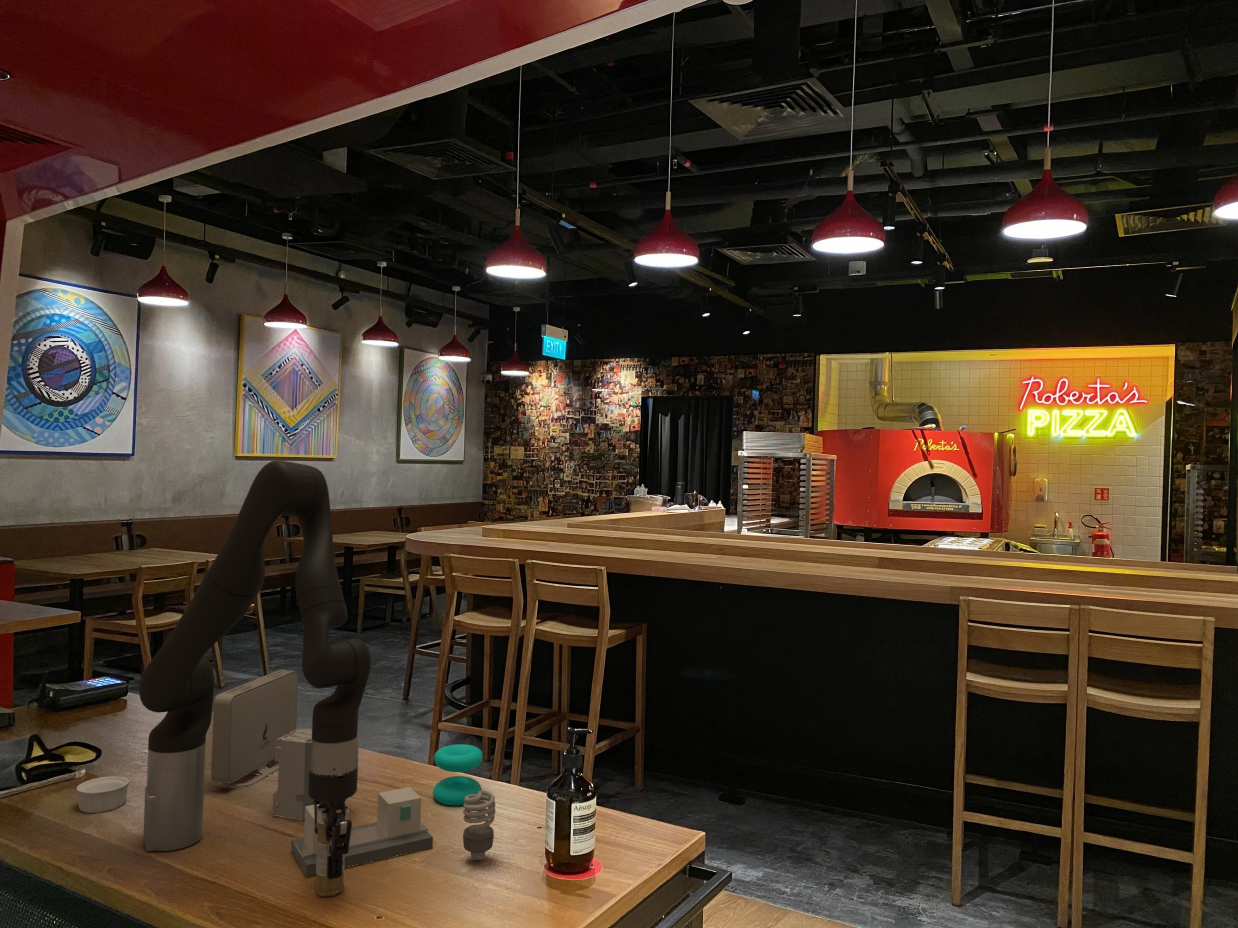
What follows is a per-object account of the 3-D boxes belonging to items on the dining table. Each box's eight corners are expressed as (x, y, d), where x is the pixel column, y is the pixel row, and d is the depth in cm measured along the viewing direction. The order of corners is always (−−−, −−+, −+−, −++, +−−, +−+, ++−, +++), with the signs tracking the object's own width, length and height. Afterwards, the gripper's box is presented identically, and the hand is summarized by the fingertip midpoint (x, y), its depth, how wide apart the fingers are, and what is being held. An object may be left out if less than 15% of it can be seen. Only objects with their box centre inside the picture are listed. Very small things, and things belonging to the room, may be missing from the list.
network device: (236, 795, 174) (240, 698, 174) (198, 791, 176) (202, 694, 176) (304, 755, 199) (307, 669, 200) (270, 751, 201) (273, 667, 201)
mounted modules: (313, 855, 143) (314, 820, 144) (303, 840, 149) (305, 806, 149) (421, 832, 154) (422, 799, 154) (408, 818, 160) (409, 786, 160)
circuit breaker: (339, 825, 162) (342, 746, 162) (272, 816, 165) (275, 739, 165) (359, 809, 169) (361, 734, 169) (294, 802, 172) (297, 727, 172)
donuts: (424, 751, 175) (456, 739, 184) (422, 800, 175) (455, 785, 184) (461, 761, 170) (492, 748, 179) (459, 811, 170) (491, 795, 179)
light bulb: (479, 850, 153) (481, 783, 153) (500, 860, 150) (502, 791, 150) (454, 860, 149) (457, 792, 149) (476, 871, 145) (478, 800, 145)
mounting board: (306, 876, 141) (306, 864, 141) (291, 850, 150) (291, 839, 150) (432, 847, 153) (432, 836, 153) (411, 825, 163) (411, 815, 163)
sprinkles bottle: (335, 881, 140) (338, 799, 140) (349, 891, 137) (352, 807, 137) (309, 890, 137) (311, 806, 137) (322, 900, 134) (325, 815, 134)
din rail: (303, 858, 143) (303, 855, 143) (294, 845, 148) (294, 842, 148) (427, 831, 156) (427, 828, 156) (416, 819, 161) (416, 817, 161)
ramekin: (66, 808, 166) (66, 786, 166) (111, 793, 173) (112, 772, 173) (93, 818, 161) (93, 795, 161) (138, 802, 169) (138, 781, 169)
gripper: (298, 755, 141) (295, 858, 141) (321, 783, 129) (317, 895, 129) (344, 748, 145) (341, 848, 145) (370, 774, 133) (366, 883, 133)
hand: (330, 870), depth 137 cm, fingers closed on sprinkles bottle, 4 cm apart
